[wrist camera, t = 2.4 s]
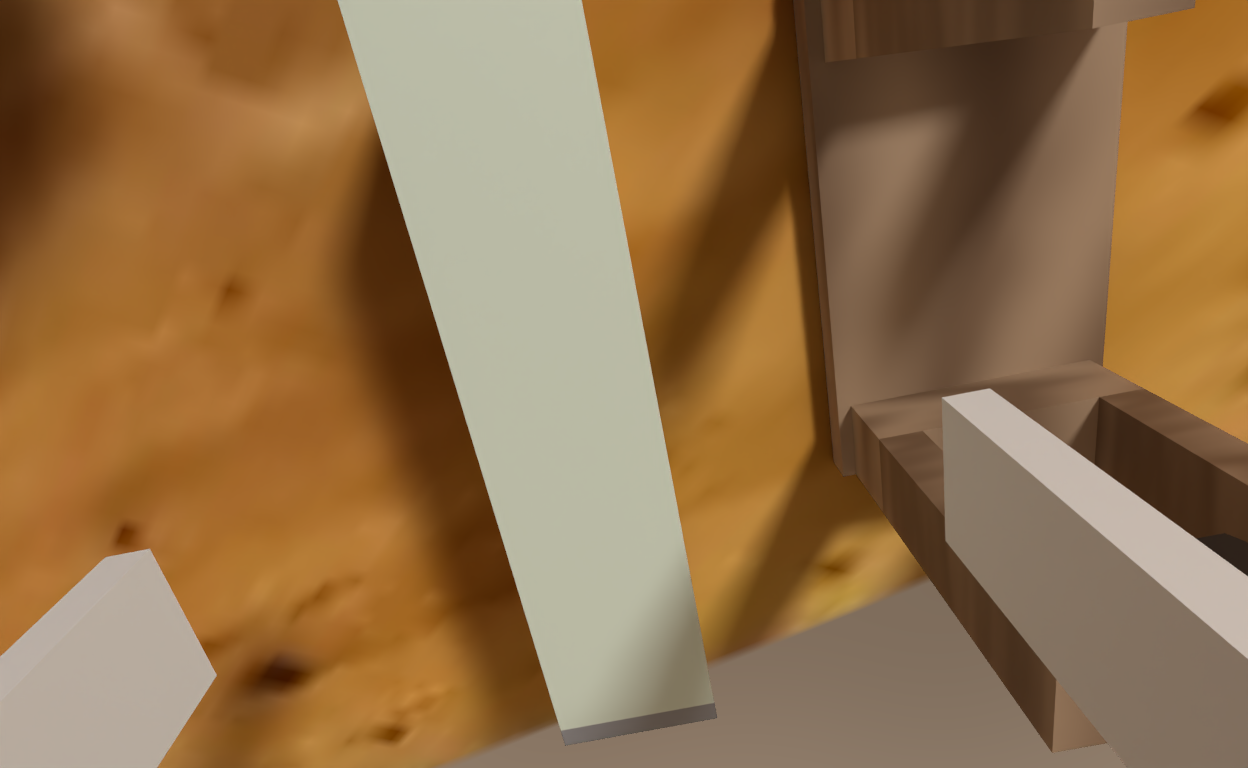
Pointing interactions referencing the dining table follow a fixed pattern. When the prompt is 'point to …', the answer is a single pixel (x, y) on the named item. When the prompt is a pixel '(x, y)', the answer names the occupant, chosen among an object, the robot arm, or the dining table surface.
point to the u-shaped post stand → (984, 272)
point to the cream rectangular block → (543, 340)
